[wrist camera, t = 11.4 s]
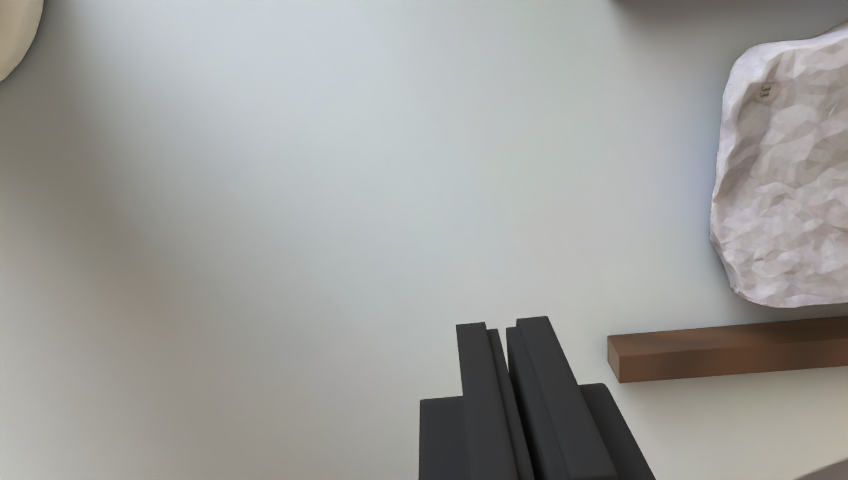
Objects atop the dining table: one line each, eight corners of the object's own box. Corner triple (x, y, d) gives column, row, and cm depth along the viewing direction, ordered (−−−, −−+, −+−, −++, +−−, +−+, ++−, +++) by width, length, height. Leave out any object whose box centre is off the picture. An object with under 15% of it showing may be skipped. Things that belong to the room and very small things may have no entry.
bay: (607, 361, 29) (619, 383, 27) (605, -50, 22) (620, -59, 21) (936, 335, 28) (972, 356, 26) (1027, -103, 21) (1083, -117, 20)
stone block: (704, 287, 29) (939, 255, 26) (729, 333, 24) (1015, 301, 21) (672, 54, 26) (936, -14, 23) (694, 58, 21) (1026, -26, 18)
